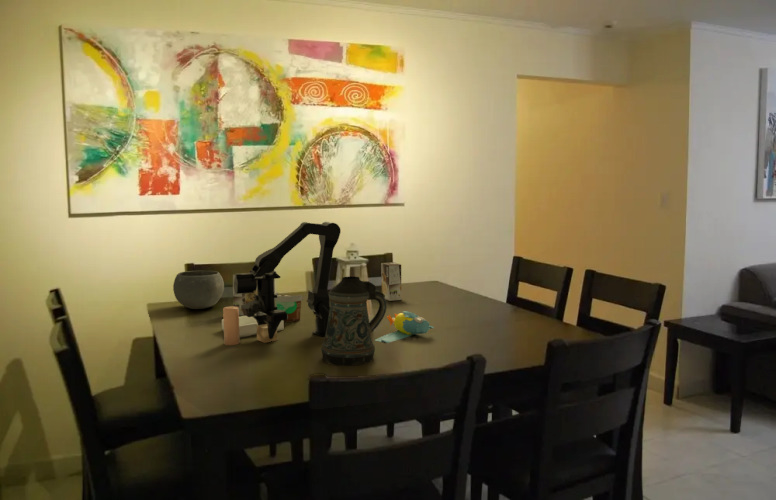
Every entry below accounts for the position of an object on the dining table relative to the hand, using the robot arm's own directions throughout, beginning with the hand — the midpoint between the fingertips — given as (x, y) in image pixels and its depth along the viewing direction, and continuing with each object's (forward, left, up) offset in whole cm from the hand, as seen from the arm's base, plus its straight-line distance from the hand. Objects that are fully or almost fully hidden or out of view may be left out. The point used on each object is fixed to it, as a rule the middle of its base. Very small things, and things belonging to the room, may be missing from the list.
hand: (267, 337), depth 218 cm
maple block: (0, 0, -1) cm, 1 cm away
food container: (+22, -20, -1) cm, 30 cm away
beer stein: (-35, -10, -1) cm, 36 cm away
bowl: (+66, -4, -1) cm, 66 cm away
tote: (+16, -3, -1) cm, 16 cm away
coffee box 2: (+29, -79, -1) cm, 84 cm away
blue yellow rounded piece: (-25, -42, -2) cm, 49 cm away
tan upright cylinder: (+4, +11, -1) cm, 12 cm away
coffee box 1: (+44, -15, -1) cm, 47 cm away
